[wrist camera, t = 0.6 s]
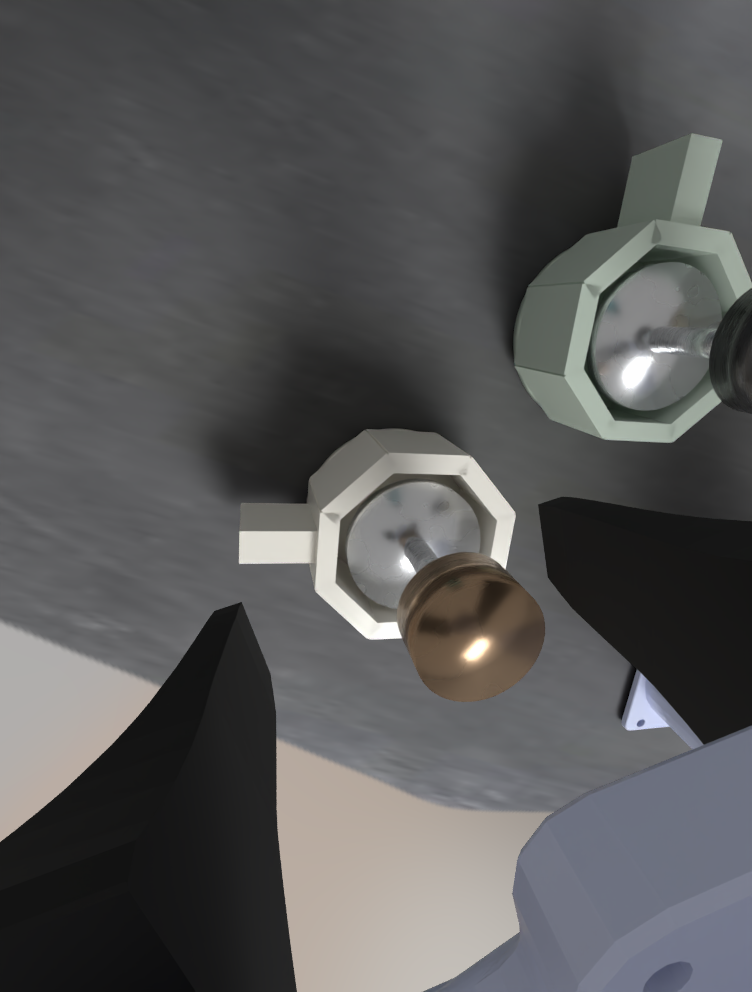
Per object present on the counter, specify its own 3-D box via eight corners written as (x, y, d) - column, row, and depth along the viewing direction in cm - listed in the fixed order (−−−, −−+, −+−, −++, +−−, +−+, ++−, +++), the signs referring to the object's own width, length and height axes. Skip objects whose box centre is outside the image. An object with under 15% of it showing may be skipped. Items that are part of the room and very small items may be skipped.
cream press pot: (479, 432, 23) (526, 458, 19) (455, 582, 25) (493, 633, 21) (242, 420, 20) (240, 446, 16) (239, 587, 22) (237, 645, 19)
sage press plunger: (725, 272, 19) (945, 256, 13) (686, 411, 20) (866, 454, 14) (604, 254, 18) (785, 227, 12) (572, 403, 19) (717, 446, 13)
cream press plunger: (483, 480, 19) (586, 556, 14) (463, 599, 21) (548, 715, 15) (350, 476, 18) (399, 558, 12) (340, 603, 20) (379, 730, 14)
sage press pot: (643, 423, 24) (718, 445, 20) (499, 414, 22) (551, 436, 19) (705, 181, 21) (807, 152, 17) (544, 149, 19) (617, 110, 16)
